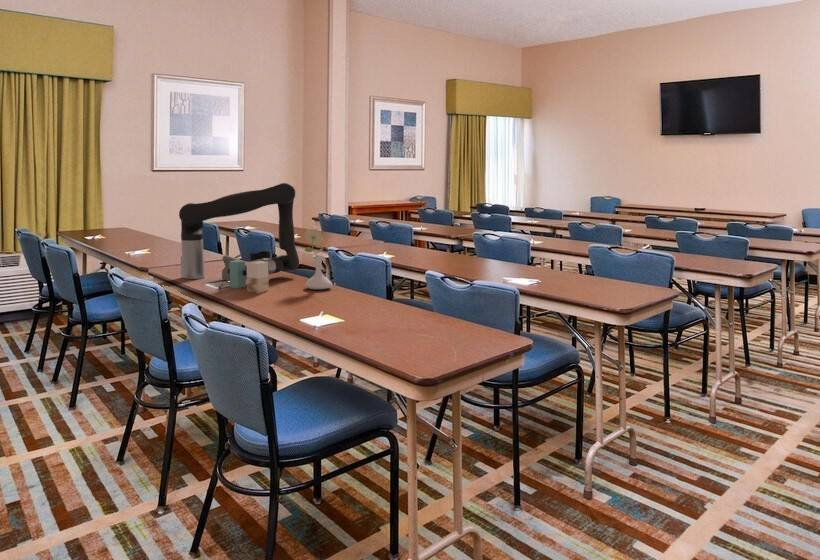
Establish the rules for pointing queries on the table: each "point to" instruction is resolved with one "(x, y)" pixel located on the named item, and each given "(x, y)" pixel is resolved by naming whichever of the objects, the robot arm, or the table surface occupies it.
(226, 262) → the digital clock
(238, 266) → the teal post
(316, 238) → the flower in vase
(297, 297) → the table surface
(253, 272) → the cream cube
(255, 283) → the maple cube
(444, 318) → the table surface
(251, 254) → the pen holder
